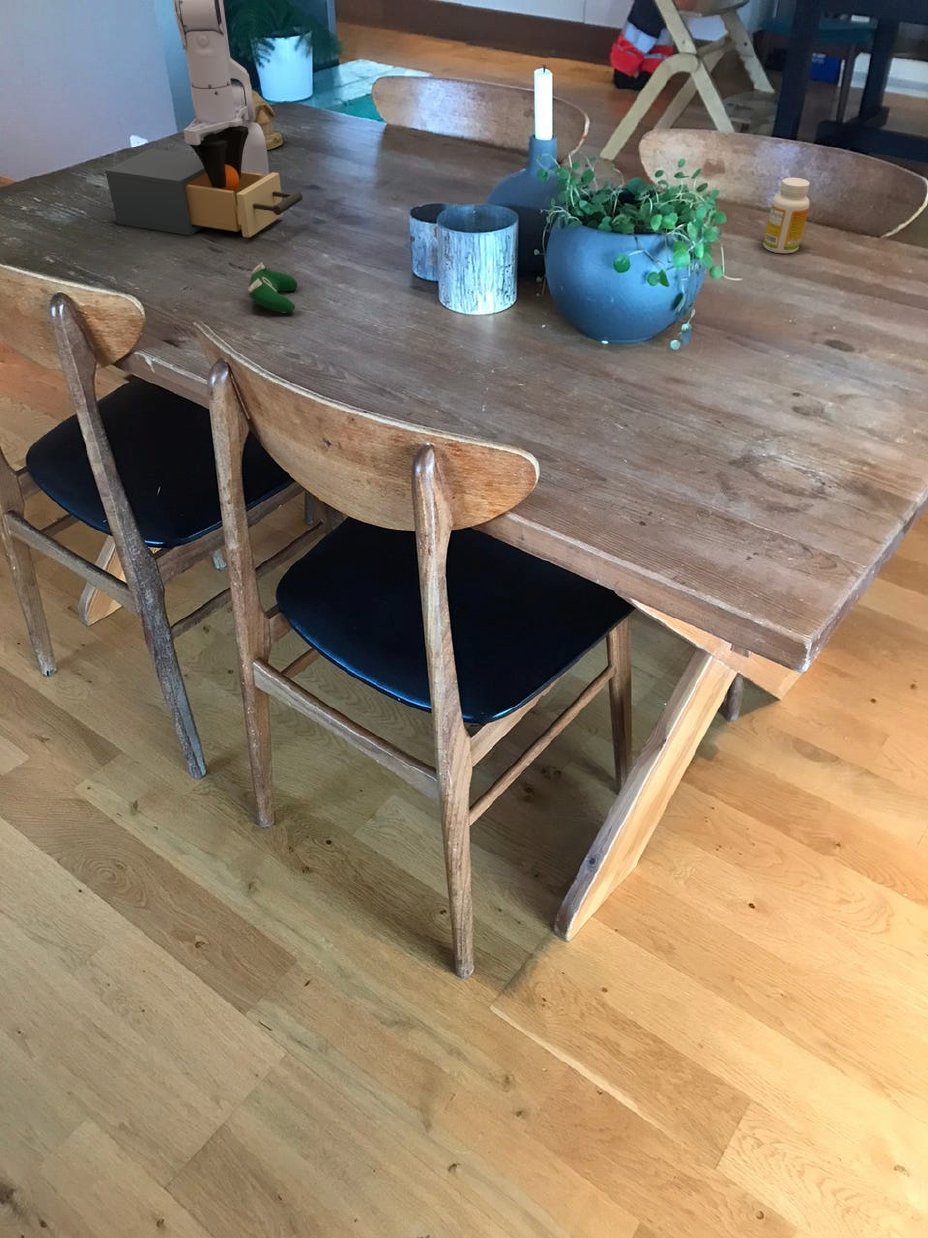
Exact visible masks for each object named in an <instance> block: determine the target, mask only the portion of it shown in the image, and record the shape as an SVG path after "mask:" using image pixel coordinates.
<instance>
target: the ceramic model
mask: <svg viewBox="0 0 928 1238" xmlns="http://www.w3.org/2000/svg"><path fill="white" fill-rule="evenodd" d="M252 95H253V102H254V111H255V120H254V121H253V123H258V124H259V125H260V127H261V129H262V131H263V134H264V137H265V142H266V149H267V151H268V150H272V149H275V148H277V147H279V146H281V145H283V139H282V138H283V136H282V134H281V133H279V132H278V131H276V130H274V127H273V118H275V117H276V114H275V111H274V110H273V108H272V107H271V105H270V104H269V103H268V102H267V101H266V100H265V99H263V97H262V96H260V94H259V92H258V91H255V90H253V89H252Z"/></svg>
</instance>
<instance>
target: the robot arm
mask: <svg viewBox="0 0 928 1238" xmlns="http://www.w3.org/2000/svg"><path fill="white" fill-rule="evenodd" d="M172 5H173V11H174V17H175V22H176V26H177V28H178V31H179V36H180V39H181V45H182V50H185V59H186V65H187V70H188V75H189V81H190V92H191V102H192V108H193V114H194V119H193V120H192V121H191V122H190V124H189V125H188V126H187V127H186V128H184V129H183V131H182V132H183V136H184V142H185V144H186V145H189V146H190V147H191V148H192V150H193V151H194V152H195V155H198V157H199V158H200V160H201V162H202V164H203V166H204V168H205V170H206V173H207V175H208V178H209V180H210V182H211V185H212V187H216V188H225V187H226V171H225V164H226V165H230V166H232V167H233V168H234V169H235V170H236V171H237V173H238V176H239V179H240V177H241V171H246V172H253V173H260V174H263V178H264V177H265V176H267V175H269V174H271V172H270V165H269V158H268V157H269V156H268V150H267V149H266V142H265V137H264V134H263V131H262V129H261V127H260V125H259V124H258V123H253V121H254V120H255V111H254V102H253V95H252V90H253V89H252V84H251V79H250V74H249V73H248V71H247V69H246V68H245V67H244V66H242V65H241V64H239V62H237V61H235V60H234V59H233V58H232V57H231V52H230V45H229V37H228V28H227V22H226V21H227V20H226V15H225V7H224V0H172ZM231 79H233V80H238V81H232V80H231Z"/></svg>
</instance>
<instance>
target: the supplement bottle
mask: <svg viewBox="0 0 928 1238" xmlns="http://www.w3.org/2000/svg"><path fill="white" fill-rule="evenodd" d="M810 183H811V182H810V181H809V180H807V179H804V178H801V177H786V178H783V179H782V180H781V184H780V186H779V187H780V189H779V191H780V193H777V194H776V195H774V197H773V198H772V202H771V207H770V211H769V217H768V219H767V225H766V230H765V234H764V239H763V244H762V245H763V248H764V249H766V250H768V251H769V252H771V253H772V252H773V253H776V254H792V253H795V252H797V251H798V250H799V248H800V245H801V241H802V236H803V233H804V228H805V225H806V221H807V218H808V217H807V216H808V214H809V213H808V212H809V209H810V204H811V203H810V202H811V201H810V199H809V198H808V196H806V195H807V194H808V192H809V189H810Z"/></svg>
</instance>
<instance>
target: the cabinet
mask: <svg viewBox="0 0 928 1238" xmlns="http://www.w3.org/2000/svg"><path fill="white" fill-rule="evenodd" d="M104 173H105V175H106V176H105V177H106V180H107V185H108V190H109V194H110V198H111V203H112V207H113V210H114V214H115V215H114V216H115V218H116V223H117V224H118V225H123V226H129V227H136V228H141V229H142V228H143V229H148V230H154V231H159V232H161V231H162V232H167V233H173V234H180V235H186V236H192V235H194V234H195V233H197V232H199V231H201V230H202V229H203V228H205V226H198V225H192V224H191V219H190V214H189V209H188V203H187V198H186V192H185V187H184V185H185V184H186V183H188V182H190V181H192V180H194V179H196V178H197V177H199V176H201V175H203V174H205V173H206V170H205V168H204V166H203V164H202V162H201V160H200V158H199V157H198V155H197V154H196V153H195V154H194V153H186V152H182V151H181V152H180V151H172V150H165V149H158V148H149V149H146V150H144V151H143V152H140V153H138V154H136V155H134V156H132V157H129V158H127V159H126V160H123V161H121V162H119V163H117V164H115V165H113V166H111V167H108V168H106V169H105V170H104Z"/></svg>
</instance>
